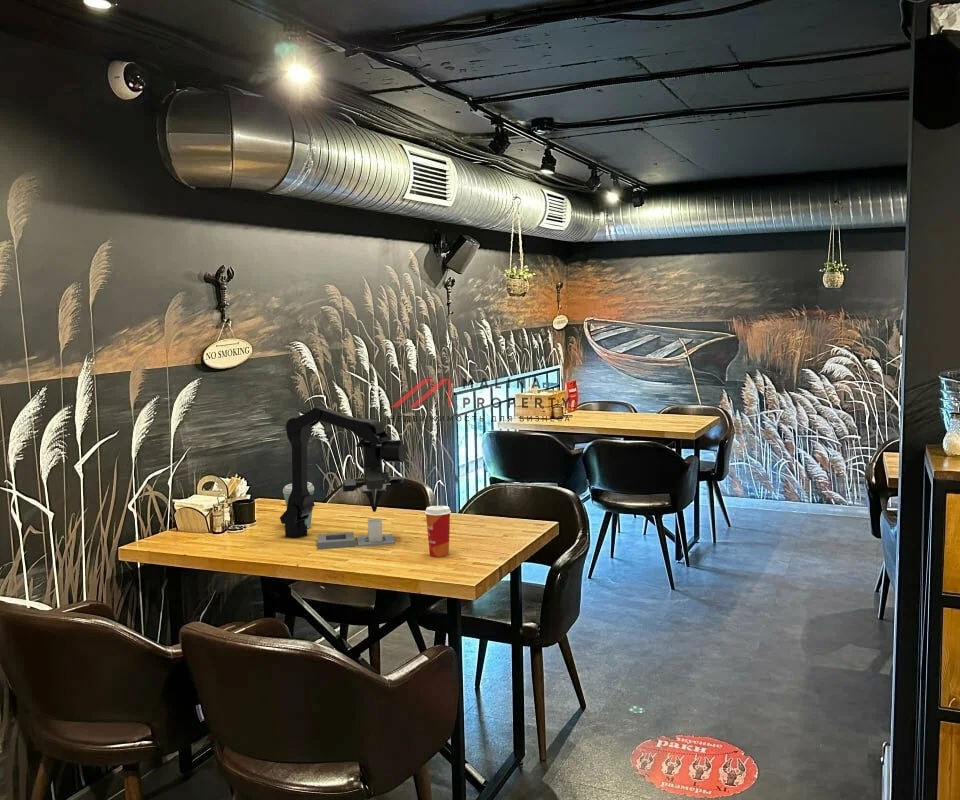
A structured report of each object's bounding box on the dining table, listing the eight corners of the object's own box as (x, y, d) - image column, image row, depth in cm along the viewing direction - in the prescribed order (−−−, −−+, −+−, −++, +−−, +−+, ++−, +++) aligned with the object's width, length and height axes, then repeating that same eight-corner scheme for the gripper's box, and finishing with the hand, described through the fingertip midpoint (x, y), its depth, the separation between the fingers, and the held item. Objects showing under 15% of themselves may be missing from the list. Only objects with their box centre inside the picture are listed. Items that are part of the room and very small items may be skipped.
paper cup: (427, 551, 252) (426, 505, 250) (453, 551, 251) (451, 504, 250) (424, 558, 244) (423, 510, 243) (451, 558, 244) (449, 510, 242)
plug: (369, 547, 258) (368, 522, 257) (368, 544, 261) (367, 519, 261) (382, 546, 258) (381, 521, 258) (381, 543, 262) (380, 518, 262)
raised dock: (318, 554, 251) (317, 542, 251) (318, 545, 262) (317, 534, 262) (355, 551, 253) (354, 540, 253) (353, 542, 264) (353, 531, 264)
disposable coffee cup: (309, 531, 281) (307, 487, 280) (278, 531, 283) (276, 486, 281) (320, 524, 291) (318, 481, 290) (291, 523, 293) (289, 481, 292)
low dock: (358, 551, 254) (358, 544, 253) (356, 542, 264) (356, 536, 264) (395, 548, 256) (394, 542, 255) (391, 540, 266) (391, 533, 266)
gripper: (342, 467, 248) (344, 519, 249) (405, 463, 252) (407, 515, 253) (341, 461, 259) (343, 511, 260) (402, 458, 263) (403, 507, 264)
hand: (374, 511), depth 259 cm, fingers closed
